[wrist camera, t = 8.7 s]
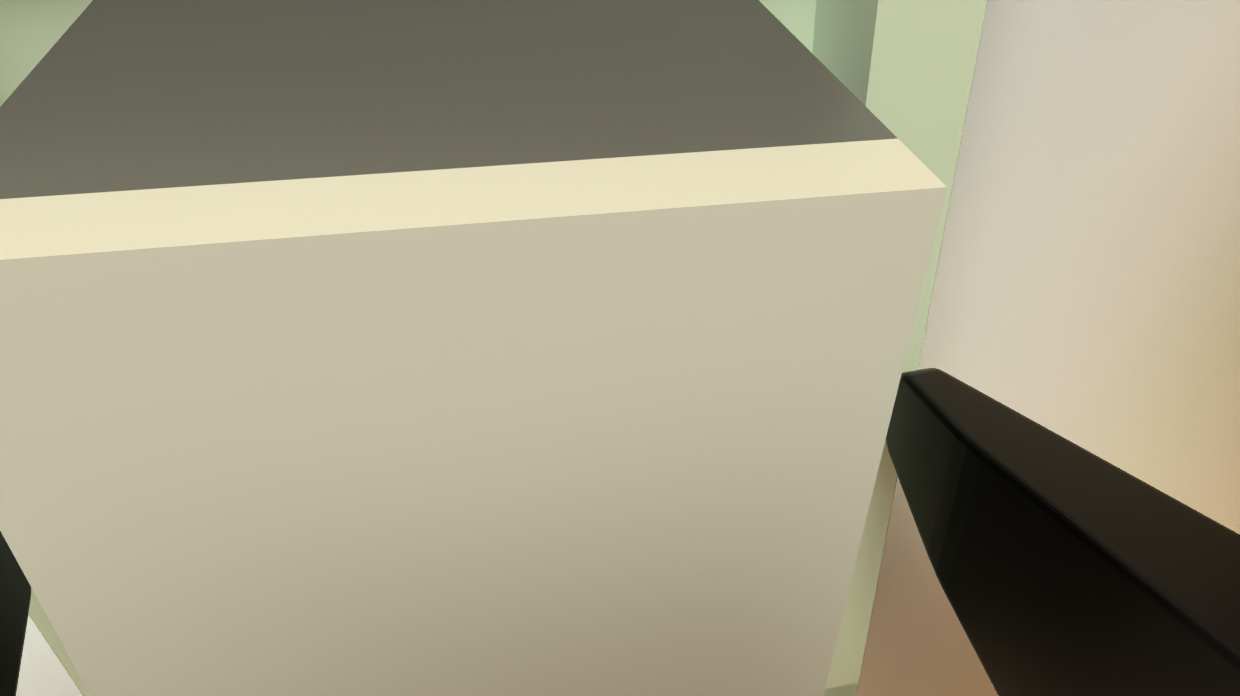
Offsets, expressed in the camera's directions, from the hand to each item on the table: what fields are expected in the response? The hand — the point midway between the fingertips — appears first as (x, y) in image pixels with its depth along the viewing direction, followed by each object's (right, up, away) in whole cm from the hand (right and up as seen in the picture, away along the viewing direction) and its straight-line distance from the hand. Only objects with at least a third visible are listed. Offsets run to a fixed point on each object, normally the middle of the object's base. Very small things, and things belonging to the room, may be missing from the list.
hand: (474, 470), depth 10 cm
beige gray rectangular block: (0, +1, +2) cm, 2 cm away
